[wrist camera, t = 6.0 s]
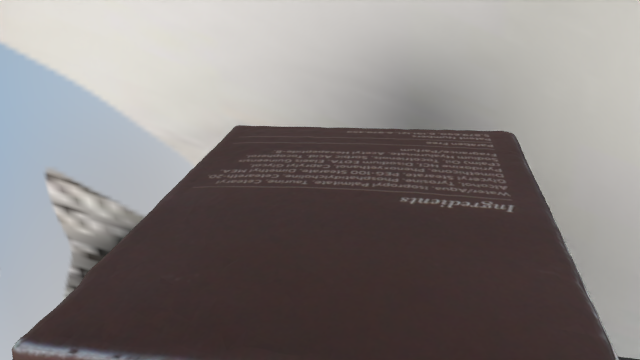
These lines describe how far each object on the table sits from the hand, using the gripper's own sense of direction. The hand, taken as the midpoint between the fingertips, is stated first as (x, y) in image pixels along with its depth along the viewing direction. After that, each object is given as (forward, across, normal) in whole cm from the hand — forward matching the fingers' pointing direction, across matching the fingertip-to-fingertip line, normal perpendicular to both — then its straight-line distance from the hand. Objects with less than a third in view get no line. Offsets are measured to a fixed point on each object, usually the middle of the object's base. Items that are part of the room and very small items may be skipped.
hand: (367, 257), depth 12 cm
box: (+1, 0, 0) cm, 1 cm away
